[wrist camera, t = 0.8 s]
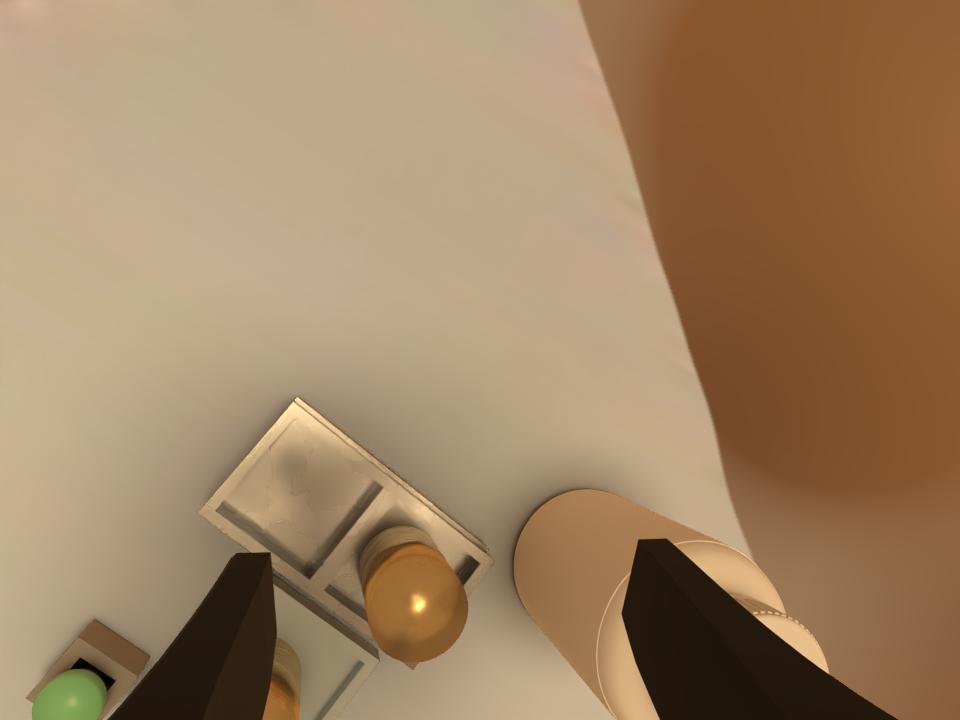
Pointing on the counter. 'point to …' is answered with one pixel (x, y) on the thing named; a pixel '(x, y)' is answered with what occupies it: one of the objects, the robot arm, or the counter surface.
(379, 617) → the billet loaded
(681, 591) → the robot arm
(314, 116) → the counter surface
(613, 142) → the counter surface
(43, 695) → the button
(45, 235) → the counter surface
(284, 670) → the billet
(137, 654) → the button housing
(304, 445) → the crate
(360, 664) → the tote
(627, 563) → the pill bottle
